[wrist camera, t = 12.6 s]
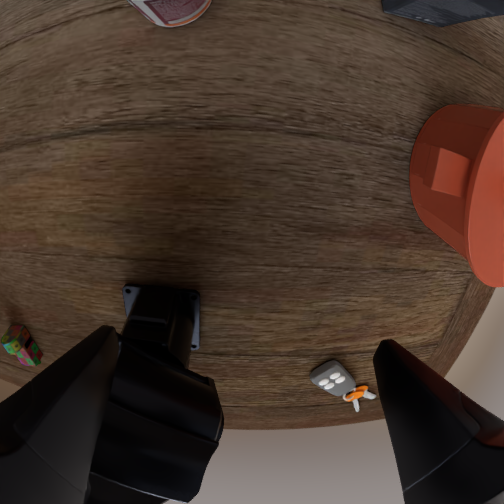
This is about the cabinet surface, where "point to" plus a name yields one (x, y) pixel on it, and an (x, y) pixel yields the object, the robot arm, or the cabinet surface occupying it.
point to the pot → (448, 167)
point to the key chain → (339, 382)
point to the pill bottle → (171, 10)
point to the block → (21, 345)
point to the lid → (487, 209)
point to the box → (444, 10)
